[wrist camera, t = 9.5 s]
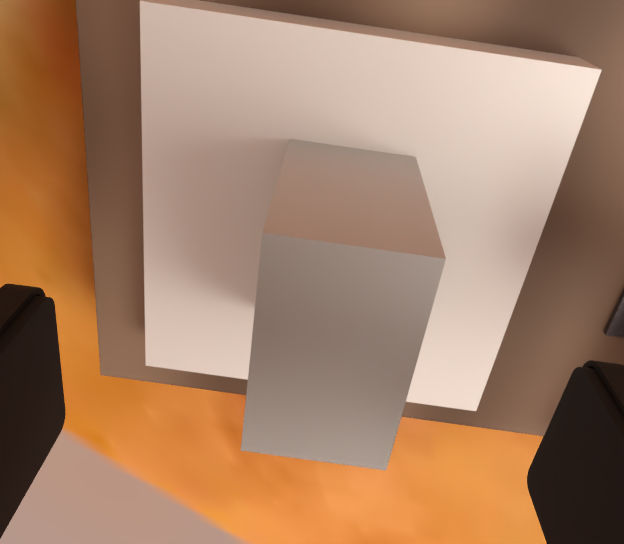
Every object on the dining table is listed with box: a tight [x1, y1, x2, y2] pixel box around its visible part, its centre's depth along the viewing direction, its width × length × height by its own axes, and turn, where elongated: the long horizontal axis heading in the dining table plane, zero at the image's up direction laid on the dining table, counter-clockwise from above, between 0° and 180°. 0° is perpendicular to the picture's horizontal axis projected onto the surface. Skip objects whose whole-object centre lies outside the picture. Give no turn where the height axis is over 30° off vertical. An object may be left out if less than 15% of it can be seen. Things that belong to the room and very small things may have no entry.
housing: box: [76, 0, 624, 436], centre depth 18 cm, size 24×14×4 cm, turn 83°
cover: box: [140, 0, 602, 470], centre depth 14 cm, size 10×10×6 cm
